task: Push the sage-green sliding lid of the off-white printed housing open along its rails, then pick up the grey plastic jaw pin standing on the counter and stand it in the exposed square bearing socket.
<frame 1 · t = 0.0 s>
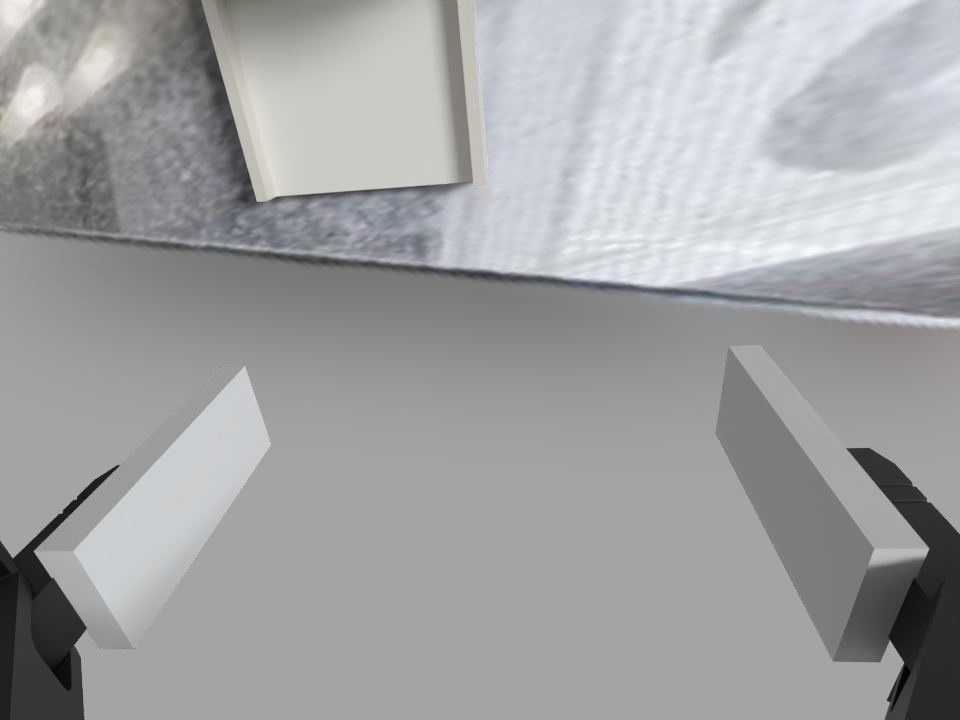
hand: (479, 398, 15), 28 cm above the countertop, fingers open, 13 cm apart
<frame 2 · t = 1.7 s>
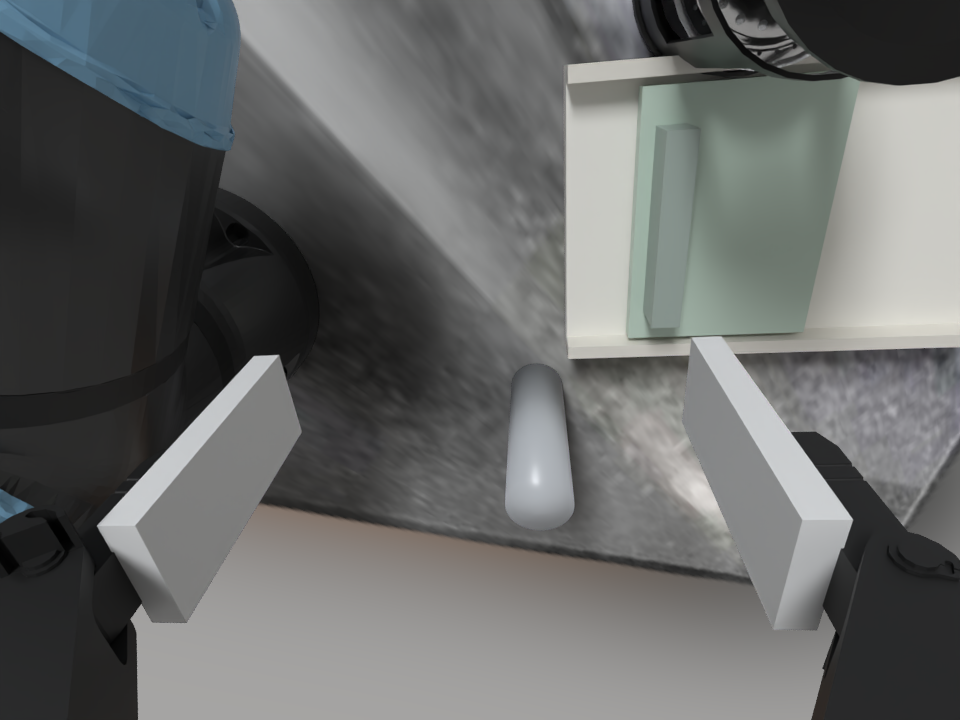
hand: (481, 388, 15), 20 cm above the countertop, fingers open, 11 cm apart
jaw pin: (536, 385, 39), on the countertop
lid: (735, 224, 28), point 4 cm above the countertop, slide at 1.6 cm
housing: (772, 203, 31), on the countertop
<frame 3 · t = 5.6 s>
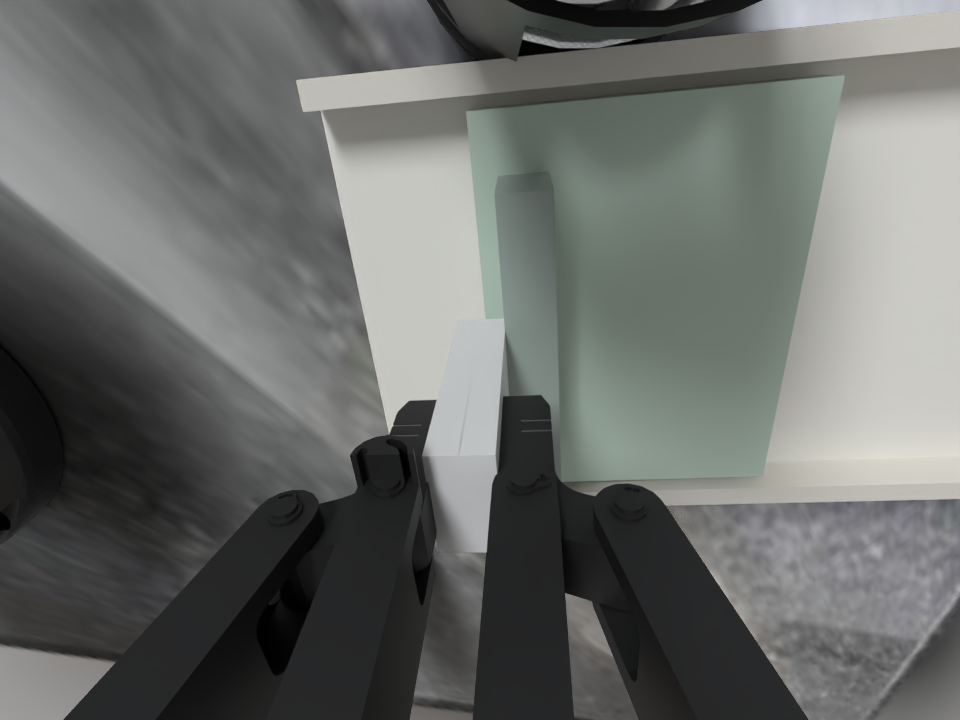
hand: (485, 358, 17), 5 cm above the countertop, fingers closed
lid: (641, 331, 17), point 4 cm above the countertop, slide at 2.6 cm, touching gripper
housing: (686, 281, 21), on the countertop
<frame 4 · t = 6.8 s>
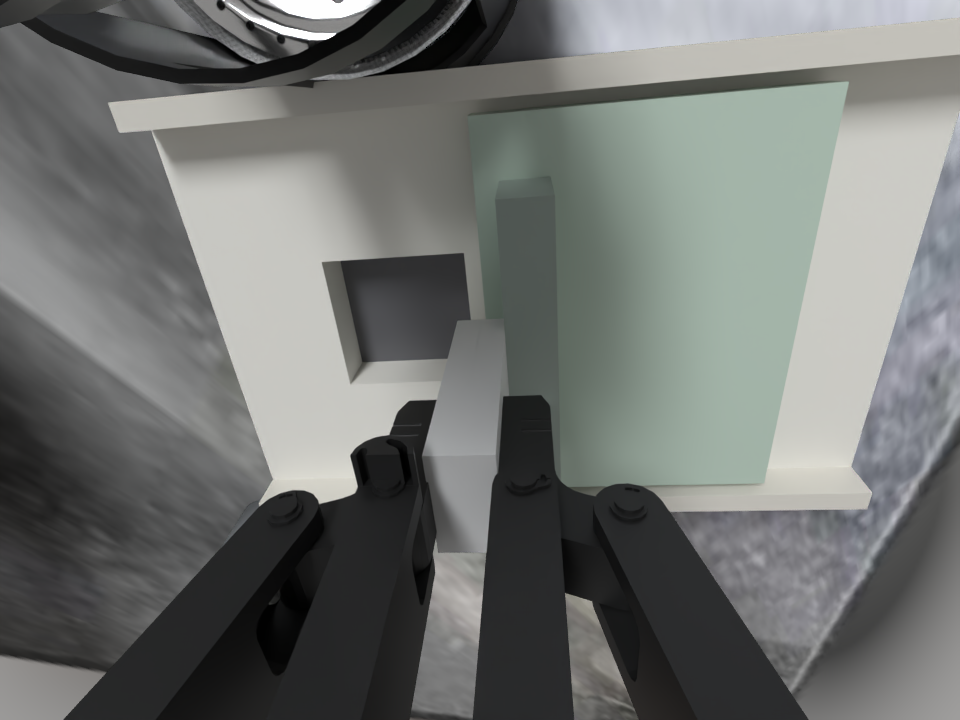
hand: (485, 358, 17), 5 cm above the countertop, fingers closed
jaw pin: (276, 525, 28), on the countertop
lid: (642, 337, 17), point 4 cm above the countertop, slide at 8.2 cm, touching gripper
housing: (539, 295, 21), on the countertop
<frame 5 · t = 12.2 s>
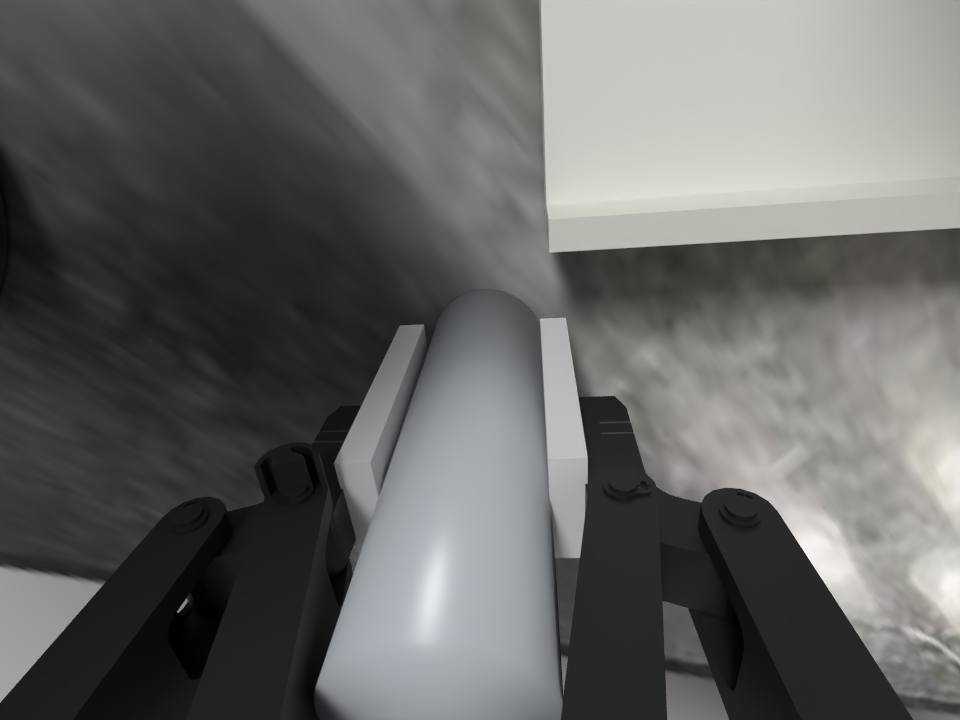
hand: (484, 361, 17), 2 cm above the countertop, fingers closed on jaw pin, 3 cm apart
jaw pin: (487, 339, 18), on the countertop, touching gripper
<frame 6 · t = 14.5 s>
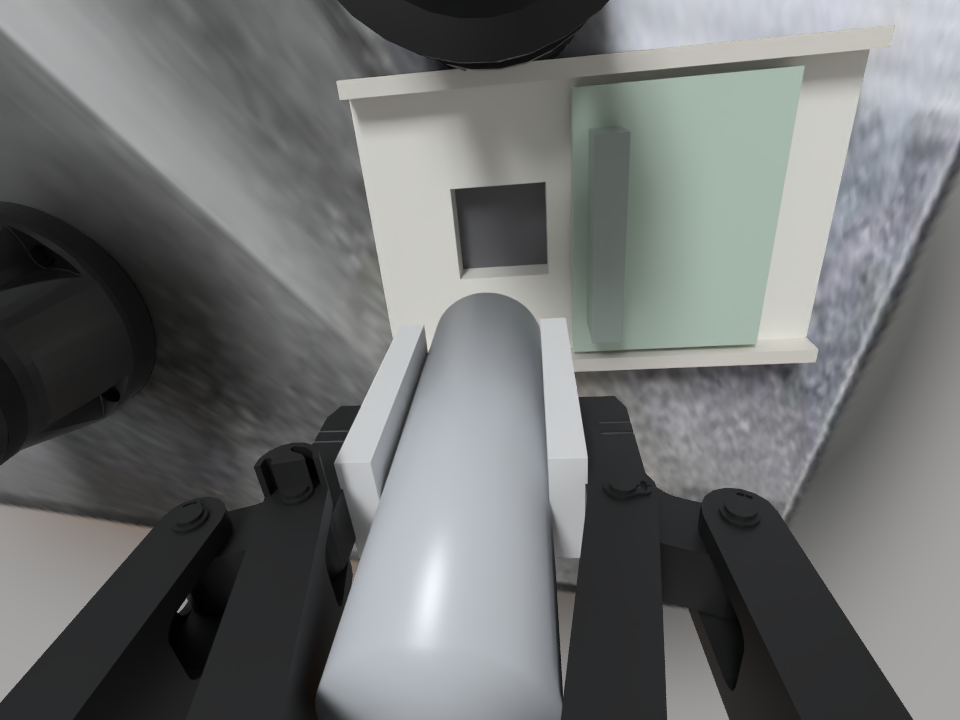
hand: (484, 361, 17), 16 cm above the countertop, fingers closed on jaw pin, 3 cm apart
jaw pin: (488, 342, 18), point 15 cm above the countertop, touching gripper
lid: (677, 232, 27), point 4 cm above the countertop, slide at 8.8 cm
housing: (590, 217, 31), on the countertop
when the fingers open (3 cm above the countertop, at t = 17.0 s): jaw pin drops 1 cm, resting on housing.
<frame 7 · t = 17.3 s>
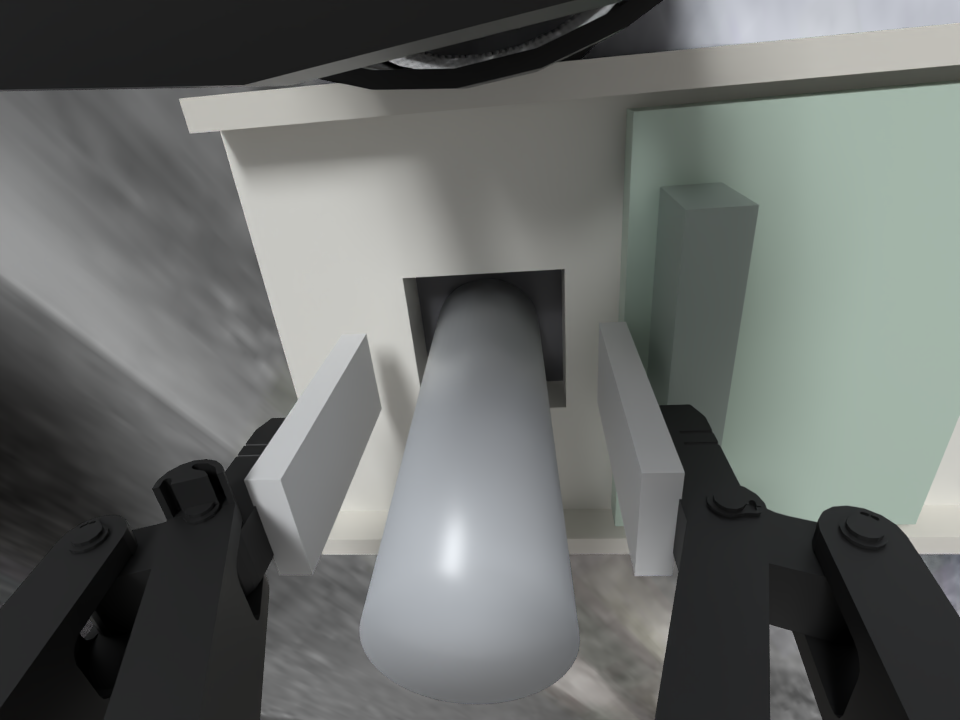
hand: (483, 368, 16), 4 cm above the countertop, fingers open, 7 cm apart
jaw pin: (488, 326, 19), resting on housing
lid: (810, 366, 15), point 4 cm above the countertop, slide at 9.1 cm, touching gripper
housing: (633, 314, 19), on the countertop
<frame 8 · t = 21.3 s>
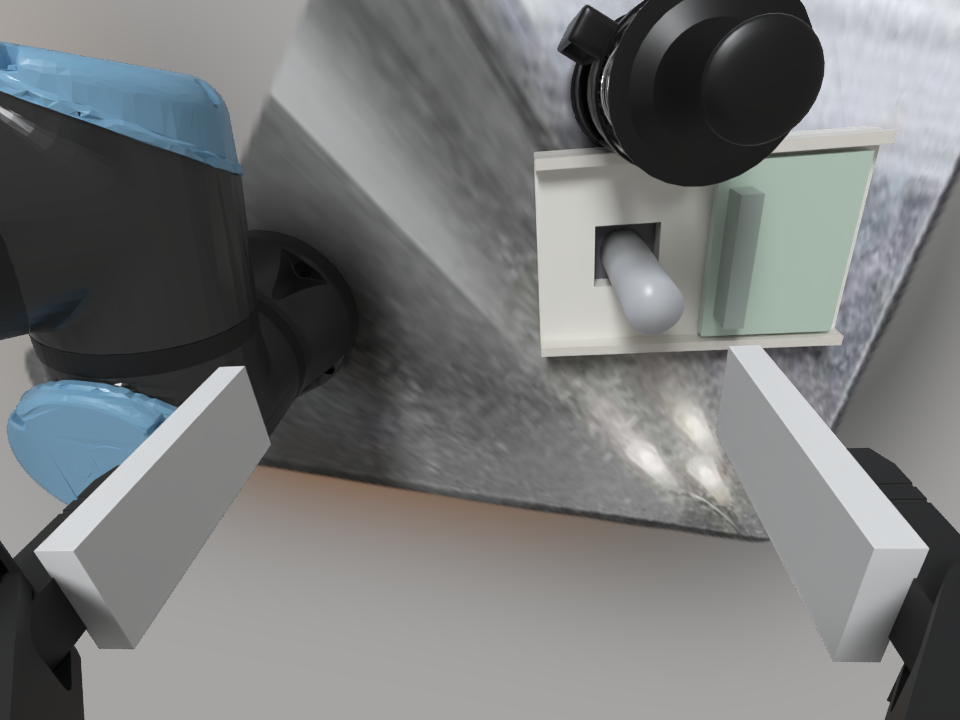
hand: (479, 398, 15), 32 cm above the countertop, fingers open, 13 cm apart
jaw pin: (621, 250, 44), resting on housing
lid: (783, 255, 40), point 4 cm above the countertop, slide at 11.0 cm
housing: (685, 244, 44), on the countertop
french press: (629, 82, 39), on the countertop, touching housing
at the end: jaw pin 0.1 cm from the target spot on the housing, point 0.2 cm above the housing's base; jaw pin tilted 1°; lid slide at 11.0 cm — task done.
